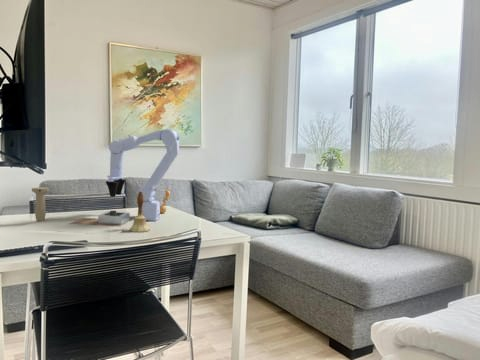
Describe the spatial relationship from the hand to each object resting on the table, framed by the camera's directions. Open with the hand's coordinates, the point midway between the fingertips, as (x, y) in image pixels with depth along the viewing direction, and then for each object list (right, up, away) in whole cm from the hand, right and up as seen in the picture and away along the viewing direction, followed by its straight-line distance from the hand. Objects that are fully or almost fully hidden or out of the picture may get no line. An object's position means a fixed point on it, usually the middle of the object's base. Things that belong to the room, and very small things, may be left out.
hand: (115, 195), depth 188 cm
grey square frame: (+4, -11, -14) cm, 18 cm away
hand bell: (+17, -14, -23) cm, 31 cm away
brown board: (-2, -12, -15) cm, 19 cm away
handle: (-27, -11, -17) cm, 34 cm away
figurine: (+19, -10, +18) cm, 28 cm away
